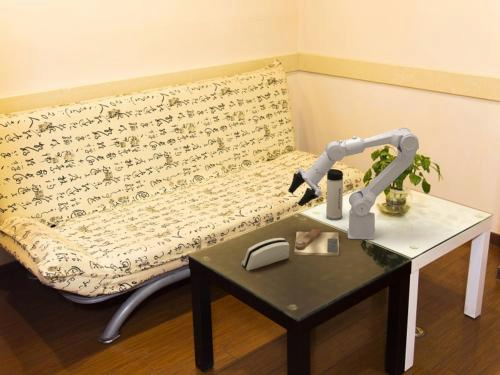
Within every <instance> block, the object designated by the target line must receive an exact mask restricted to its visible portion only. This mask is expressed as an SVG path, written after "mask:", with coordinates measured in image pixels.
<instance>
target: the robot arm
mask: <svg viewBox="0 0 500 375" xmlns="http://www.w3.org/2000/svg"><path fill="white" fill-rule="evenodd" d="M385 145H390V146H393V147H396V148H397V156H396V157H395V158H394V159H393V160H392V161H391V162H390V163H389V164H388V165H387V166H386V167H385V168H384V169H382V171H381V172H380V173H379V174H378V175H377V176H376V177H375V178H374V179H373V180H371V182H369V183H368V185H367V186H365V187H361V188H360V189H359V190H357V191H355V192H352V193H350V195H349V198H348V202H349V204H350V206H351V207H350V209H349V212H348V214H349V215H348V229H347V230H346V232H347V239H349V240H351V239H353V240H375V232H376V227H375V224H376V220H375V219H376V217H375V213H374V212H371V209H372V207H373V206H374V205H375V202H376V200H377V198H378V196H380V194H381V193H383V192H384V191H385V190H386V189H387V188H388V187H389V186H390V185H391V184H392V183H393V182H395V181H396V179H398V177H400V176H401V174H403V172H405V171H406V170H407V169H408V168H409V167H410V166H411V165H412V164H413V162H414V160H415V157H416V154H417V151H418V150H419V149H420V144H419V138H418V137H417V135H415V134H414V133H413V132H411V130H410V129H409V128H407V127H400V128H395V129H391V130H389V131H385V132H383V133H380V134H376V135H373V136H369V137H367V138H362V137H360V136H357V135H353V136H352V137H351V138H348V139H345V140H342V139H340V140H338V141H334V140H333V141H330V142H329V143H327V144H326V146H325V150H324V151H323V152H322V154H320V156H319V157H318V158H317V159H316V160H315V161H314V162H313V164H312V165H311V166H310V167H309V169H308V170H307V171H306V170H304V169H303V168H302V167H299V168H298V169H297V170H296V172H294V173H293V176H292V181H291V184H290V186H289V188H288V190H287V191H288V193H290V194H294V193H295V192H296V190H298V189H299V188H300V186H302V185H304V183H306V184H307V185H308V187H306V190H305V192H304V194H303V195H302V197H301V198H300V199H299V201H298V202H297V204H298V206H301V207H303V206H305V205H306V204H307V203H309V202H310V201H313V200H314V199H315V200H316V199H319V197H320V196H321V195H322V194H323V191H322V190H321V188H320V186H319V185H318V184H319V183H320V182H321V180H323V178H324V177H325V176H327V172H328V171H329V170H330V169H333V166H334V165H335V164H336V163H337V162H340V161H342V160H343V159H344V158H345V157H349V156H353V155H358V154H363V152H364V151H365V150H366V149H367V148H368V149H369V148H374V147H379V146H385ZM309 187H310V188H309Z"/></svg>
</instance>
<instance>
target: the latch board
mask: <svg viewBox="0 0 500 375" xmlns="http://www.w3.org/2000/svg"><path fill="white" fill-rule="evenodd" d="M309 232H310V231H296V236H295V243H296V242H298V241H299V240H300V239H302V238H303V237H304V236H305V235H307V234H308V233H309ZM328 238H329V239H338V253H333V252H327V245H328ZM295 243H294V244H295ZM293 255H295V256H297V255H298V256H327V257H328V256H329V257H331V256H333V257H334V256H335V257H339V256H340V242H339V232H329V231H328V232H327V231H323V232H322V231H321V234H320V235H319V236H318V237H317V238H316V239H314V240H313V241H312V242H311V243H310V244H309V245H307V246H306V248H305V249H302V250H299V249H296V248H295V247H294V253H293Z"/></svg>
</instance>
